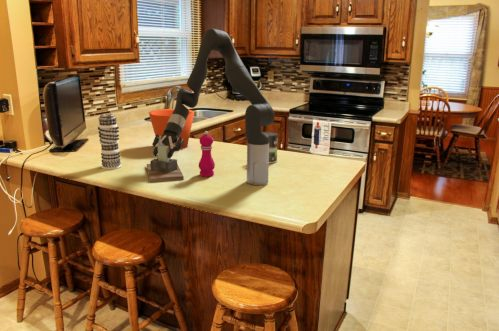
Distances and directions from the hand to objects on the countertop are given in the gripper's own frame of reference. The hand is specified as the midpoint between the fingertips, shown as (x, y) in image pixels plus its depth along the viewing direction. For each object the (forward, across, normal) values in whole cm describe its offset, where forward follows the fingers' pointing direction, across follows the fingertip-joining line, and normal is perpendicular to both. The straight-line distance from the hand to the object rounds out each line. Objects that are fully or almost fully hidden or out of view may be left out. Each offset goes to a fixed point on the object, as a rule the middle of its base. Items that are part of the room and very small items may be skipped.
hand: (161, 156), depth 187 cm
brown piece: (+5, 0, +7) cm, 8 cm away
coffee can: (-23, +35, +35) cm, 54 cm away
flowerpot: (-27, -24, +39) cm, 53 cm away
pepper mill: (+1, +19, +11) cm, 22 cm away
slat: (+4, 0, +6) cm, 7 cm away
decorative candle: (+7, -28, +5) cm, 29 cm away
